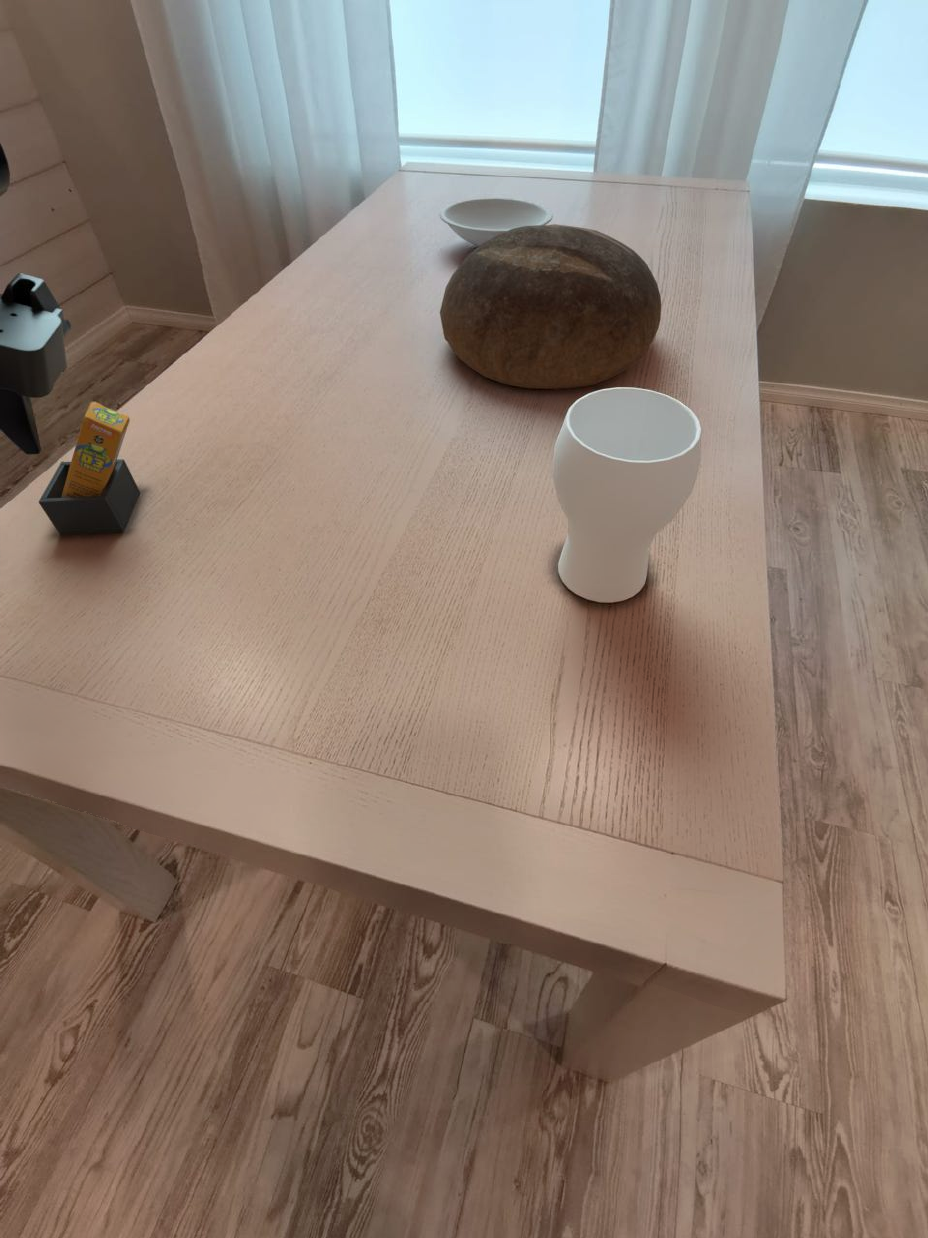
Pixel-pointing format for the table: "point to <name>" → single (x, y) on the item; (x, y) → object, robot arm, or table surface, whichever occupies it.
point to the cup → (621, 485)
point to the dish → (492, 217)
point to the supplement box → (95, 451)
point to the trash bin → (91, 503)
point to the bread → (551, 307)
